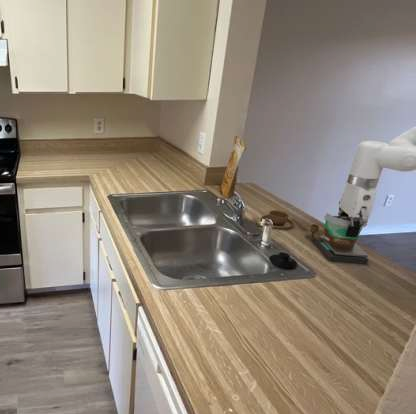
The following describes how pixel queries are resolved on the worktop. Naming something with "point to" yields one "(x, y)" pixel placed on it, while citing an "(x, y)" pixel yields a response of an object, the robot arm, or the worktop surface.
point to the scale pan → (346, 250)
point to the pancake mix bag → (232, 168)
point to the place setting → (282, 218)
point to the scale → (338, 258)
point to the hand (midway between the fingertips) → (345, 231)
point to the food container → (339, 231)
